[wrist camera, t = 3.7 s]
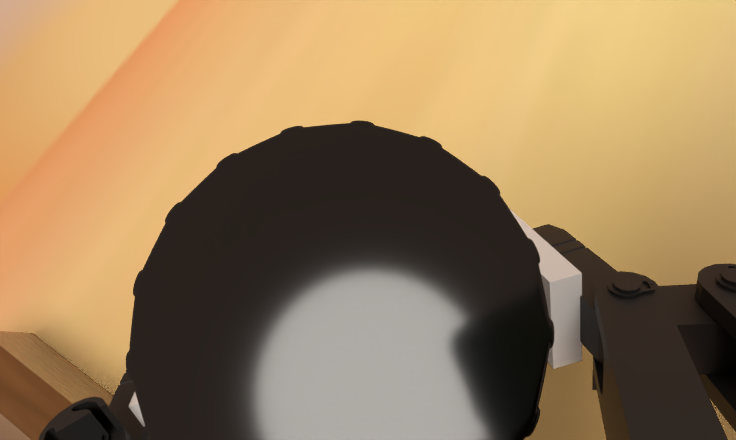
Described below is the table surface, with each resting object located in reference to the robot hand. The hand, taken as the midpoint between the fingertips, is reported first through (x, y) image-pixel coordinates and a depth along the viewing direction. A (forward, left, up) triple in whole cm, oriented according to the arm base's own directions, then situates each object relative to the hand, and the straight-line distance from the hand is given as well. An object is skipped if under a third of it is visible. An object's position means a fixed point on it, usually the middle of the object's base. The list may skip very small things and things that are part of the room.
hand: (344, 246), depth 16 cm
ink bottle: (+1, +3, -4) cm, 5 cm away
